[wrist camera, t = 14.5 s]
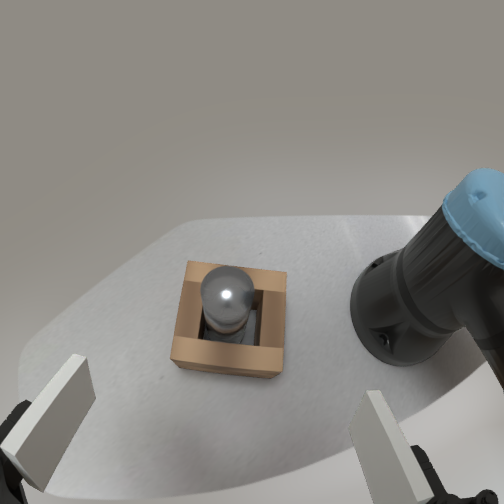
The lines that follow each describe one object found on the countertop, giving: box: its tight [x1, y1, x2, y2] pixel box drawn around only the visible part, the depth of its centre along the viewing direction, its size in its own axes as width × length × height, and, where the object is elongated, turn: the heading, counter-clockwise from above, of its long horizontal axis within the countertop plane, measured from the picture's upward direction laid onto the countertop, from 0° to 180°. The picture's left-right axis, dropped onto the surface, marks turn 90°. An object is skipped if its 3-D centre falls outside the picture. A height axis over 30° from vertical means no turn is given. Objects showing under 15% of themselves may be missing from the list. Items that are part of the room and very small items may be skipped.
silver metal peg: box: [200, 266, 255, 344], centre depth 26 cm, size 4×4×12 cm
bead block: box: [170, 261, 287, 378], centre depth 29 cm, size 10×10×6 cm
